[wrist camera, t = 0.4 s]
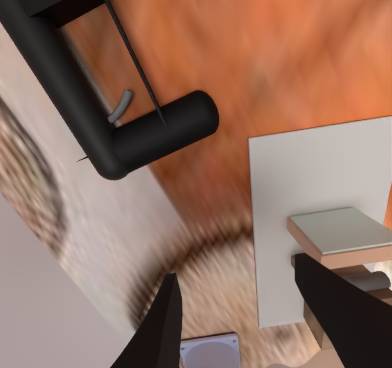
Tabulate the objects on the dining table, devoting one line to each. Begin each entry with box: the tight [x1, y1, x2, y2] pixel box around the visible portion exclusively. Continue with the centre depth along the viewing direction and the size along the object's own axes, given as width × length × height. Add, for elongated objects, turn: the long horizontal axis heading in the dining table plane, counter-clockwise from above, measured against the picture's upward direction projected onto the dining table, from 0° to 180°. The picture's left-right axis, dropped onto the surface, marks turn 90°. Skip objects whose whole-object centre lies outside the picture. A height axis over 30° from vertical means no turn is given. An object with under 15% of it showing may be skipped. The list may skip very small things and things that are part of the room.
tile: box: [287, 207, 392, 269], centre depth 19 cm, size 2×7×6 cm, turn 98°
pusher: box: [291, 255, 392, 350], centre depth 22 cm, size 11×6×6 cm, turn 8°
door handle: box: [0, 0, 219, 180], centre depth 15 cm, size 3×20×16 cm
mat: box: [248, 116, 392, 328], centre depth 24 cm, size 25×14×1 cm, turn 8°
